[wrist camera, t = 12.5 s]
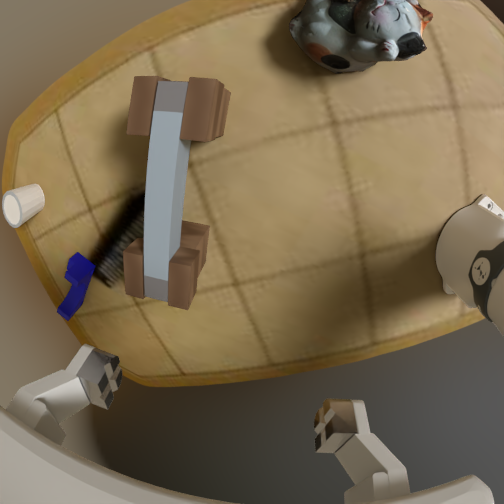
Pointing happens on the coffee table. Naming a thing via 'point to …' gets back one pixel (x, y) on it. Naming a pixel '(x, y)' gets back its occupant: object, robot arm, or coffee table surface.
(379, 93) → the coffee table surface
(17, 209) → the shot glass
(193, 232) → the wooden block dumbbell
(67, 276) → the cable clip
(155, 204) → the bed rail
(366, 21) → the lucky cat figurine
